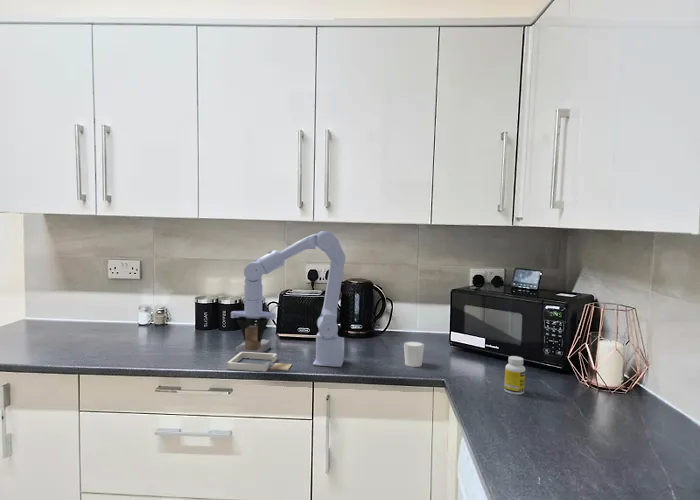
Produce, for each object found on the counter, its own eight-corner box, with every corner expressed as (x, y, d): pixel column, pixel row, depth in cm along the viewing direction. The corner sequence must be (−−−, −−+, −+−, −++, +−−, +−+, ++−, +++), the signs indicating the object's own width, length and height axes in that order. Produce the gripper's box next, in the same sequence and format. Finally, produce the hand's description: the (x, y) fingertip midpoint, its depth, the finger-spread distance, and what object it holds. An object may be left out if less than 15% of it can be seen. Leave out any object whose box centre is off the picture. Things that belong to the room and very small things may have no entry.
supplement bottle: (522, 396, 125) (523, 362, 124) (502, 392, 128) (503, 358, 127) (526, 390, 130) (527, 357, 129) (506, 386, 132) (508, 354, 132)
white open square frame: (276, 359, 153) (276, 353, 153) (265, 371, 141) (265, 365, 140) (240, 357, 154) (240, 351, 154) (226, 369, 142) (226, 362, 142)
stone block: (234, 360, 158) (260, 356, 156) (232, 346, 158) (258, 342, 156) (248, 351, 170) (273, 348, 168) (246, 339, 170) (271, 335, 168)
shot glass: (411, 359, 156) (412, 340, 156) (427, 364, 152) (428, 344, 151) (399, 363, 152) (399, 343, 151) (415, 368, 147) (416, 347, 146)
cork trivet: (291, 365, 147) (291, 364, 147) (287, 370, 142) (287, 369, 142) (275, 364, 148) (275, 363, 148) (270, 369, 142) (270, 368, 142)
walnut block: (260, 347, 149) (261, 326, 149) (257, 350, 145) (257, 329, 145) (249, 346, 149) (249, 325, 149) (245, 349, 145) (245, 328, 145)
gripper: (278, 297, 149) (278, 338, 150) (236, 296, 151) (236, 336, 152) (272, 301, 142) (272, 343, 143) (228, 299, 144) (228, 341, 145)
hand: (253, 340), depth 147 cm, fingers closed on walnut block, 4 cm apart
